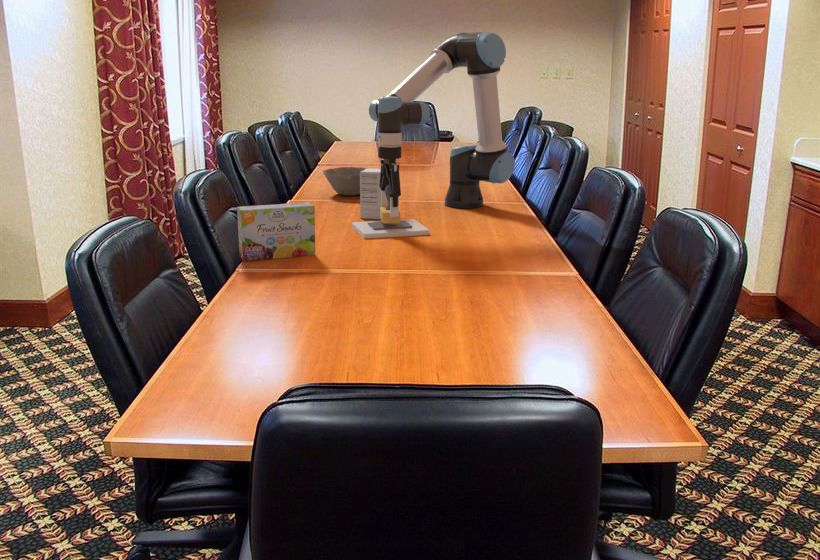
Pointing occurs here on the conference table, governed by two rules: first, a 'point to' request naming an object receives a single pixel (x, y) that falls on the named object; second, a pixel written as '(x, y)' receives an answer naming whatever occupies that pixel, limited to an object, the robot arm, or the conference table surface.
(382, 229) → the pad
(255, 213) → the snack box
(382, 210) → the rubber stamp
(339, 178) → the ceramic bowl
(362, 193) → the supplement box
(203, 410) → the conference table surface
